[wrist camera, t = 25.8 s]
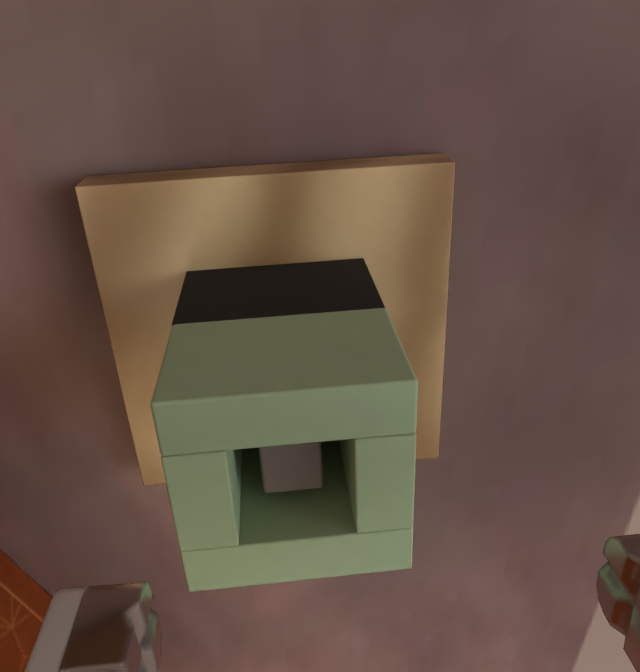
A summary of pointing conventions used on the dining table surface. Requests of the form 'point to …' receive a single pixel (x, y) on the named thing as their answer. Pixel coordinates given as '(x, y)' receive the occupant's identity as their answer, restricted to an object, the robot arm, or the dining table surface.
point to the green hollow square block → (285, 429)
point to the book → (19, 615)
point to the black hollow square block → (276, 291)
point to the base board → (271, 249)
